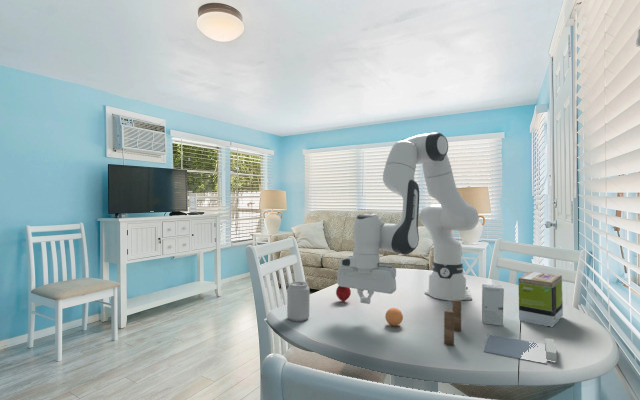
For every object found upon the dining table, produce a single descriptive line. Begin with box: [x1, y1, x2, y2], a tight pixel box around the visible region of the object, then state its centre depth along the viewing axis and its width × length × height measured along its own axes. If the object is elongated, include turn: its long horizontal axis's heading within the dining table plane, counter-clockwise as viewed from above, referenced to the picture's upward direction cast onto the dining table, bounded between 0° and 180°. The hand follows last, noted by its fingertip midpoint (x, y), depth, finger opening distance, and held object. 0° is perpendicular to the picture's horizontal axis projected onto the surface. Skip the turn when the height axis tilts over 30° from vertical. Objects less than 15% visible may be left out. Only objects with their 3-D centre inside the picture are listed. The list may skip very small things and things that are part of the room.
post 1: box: [443, 309, 455, 347], centre depth 98 cm, size 3×3×9 cm
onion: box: [335, 285, 352, 303], centre depth 139 cm, size 6×6×8 cm
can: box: [286, 281, 311, 322], centre depth 119 cm, size 8×8×12 cm
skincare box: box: [481, 283, 505, 327], centre depth 115 cm, size 6×4×12 cm
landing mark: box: [483, 333, 538, 359], centre depth 95 cm, size 14×14×1 cm
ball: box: [385, 307, 404, 327], centre depth 112 cm, size 6×6×6 cm
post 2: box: [451, 300, 462, 332], centre depth 109 cm, size 3×3×9 cm
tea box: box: [518, 271, 564, 328], centre depth 120 cm, size 15×10×15 cm, turn 134°
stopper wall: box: [544, 337, 557, 362], centre depth 91 cm, size 10×2×2 cm, turn 149°
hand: (365, 303), depth 117 cm, fingers closed
